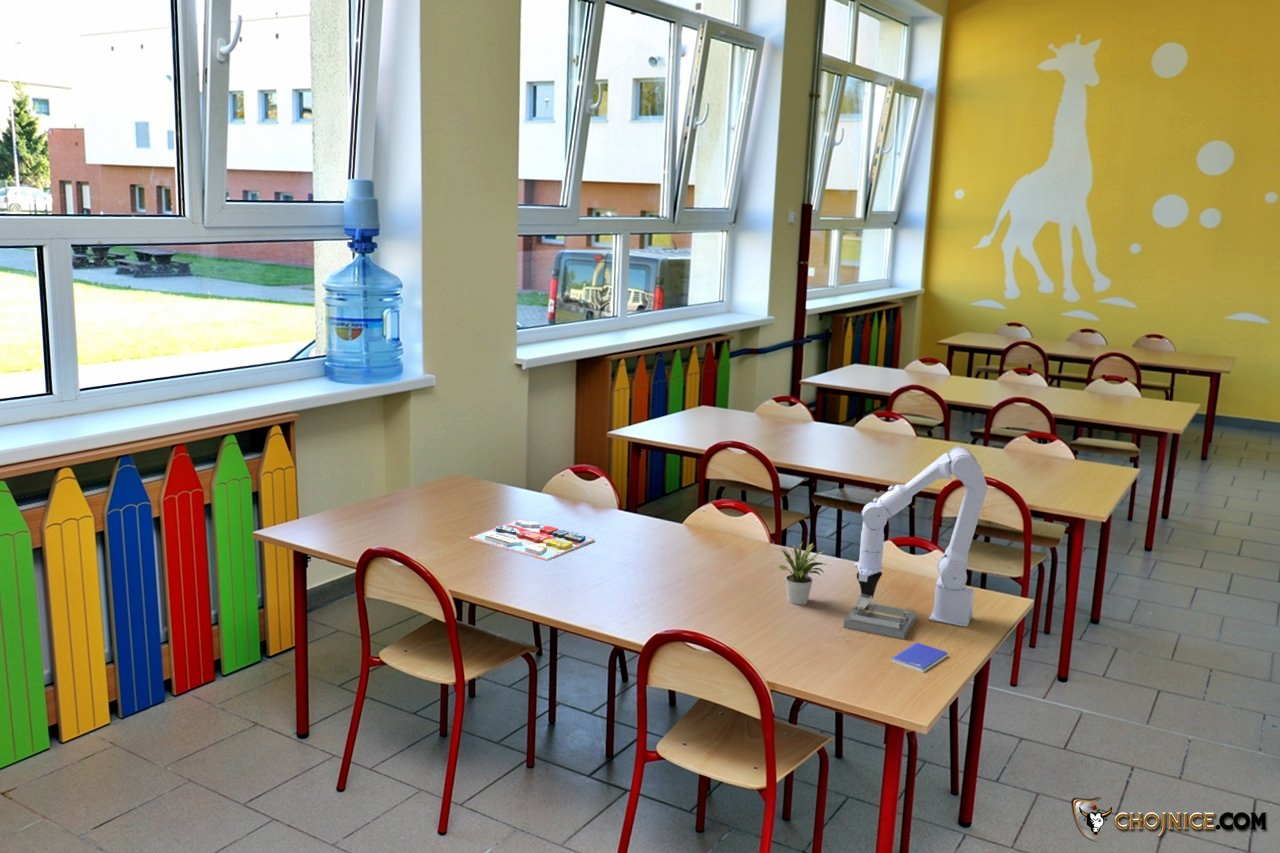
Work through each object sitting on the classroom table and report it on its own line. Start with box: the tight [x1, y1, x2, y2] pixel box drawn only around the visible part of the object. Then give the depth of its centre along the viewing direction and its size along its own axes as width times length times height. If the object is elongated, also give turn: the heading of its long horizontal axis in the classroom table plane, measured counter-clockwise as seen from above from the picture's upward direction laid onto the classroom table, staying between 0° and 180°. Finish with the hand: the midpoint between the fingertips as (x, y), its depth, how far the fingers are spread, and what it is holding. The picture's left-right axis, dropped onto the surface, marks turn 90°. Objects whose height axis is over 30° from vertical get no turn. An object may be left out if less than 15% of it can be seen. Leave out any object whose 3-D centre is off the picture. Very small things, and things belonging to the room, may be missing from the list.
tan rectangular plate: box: [859, 609, 900, 618], centre depth 274 cm, size 11×3×1 cm, turn 65°
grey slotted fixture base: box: [843, 599, 918, 640], centre depth 275 cm, size 15×15×4 cm
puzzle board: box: [469, 518, 596, 562], centre depth 331 cm, size 30×23×3 cm
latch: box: [857, 592, 873, 610], centre depth 278 cm, size 3×5×3 cm, turn 155°
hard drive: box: [890, 642, 948, 673], centre depth 255 cm, size 2×8×12 cm
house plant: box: [775, 541, 828, 606], centre depth 286 cm, size 14×14×16 cm
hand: (867, 599), depth 282 cm, fingers closed
